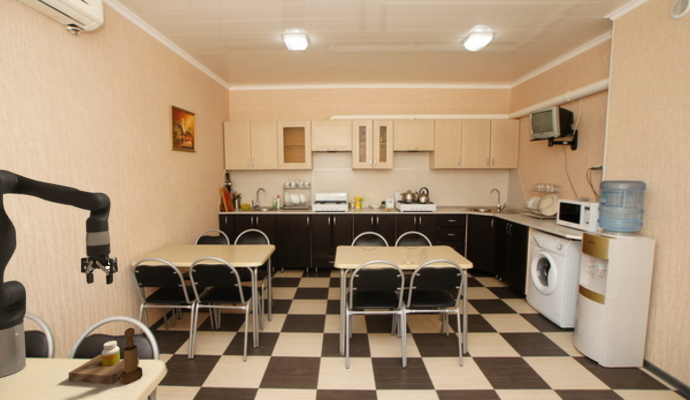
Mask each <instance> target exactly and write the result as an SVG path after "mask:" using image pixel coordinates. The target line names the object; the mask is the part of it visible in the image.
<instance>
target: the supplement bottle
mask: <svg viewBox="0 0 690 400" xmlns="http://www.w3.org/2000/svg"><path fill="white" fill-rule="evenodd" d="M120 354H121V351H120V347H119V346H118V342H117V340H111V341H110V340H109V341H107V342H105V343H104V344H103V350H102V351H101V355H102V366H106V367H112V366H113V365H115V364H116V363H118V362H119V361H121V355H120Z"/></svg>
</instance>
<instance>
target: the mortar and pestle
mask: <svg viewBox="0 0 690 400" xmlns="http://www.w3.org/2000/svg"><path fill="white" fill-rule="evenodd" d="M135 331H136V330H135V329H134V328H133V327H129V328H126V329H125V330H124V336H125V338H127V339H126V341H125V344H126V347H124V348H123V359H124V371H123V372H122V373H121V374H120V379H119V382H120V384H124V385H128V384H131V383H134V382H137V381H139V380H140V379H141V378H143V376H144V375H143V368H142V367H140V366H139V365H138V364H137V357H138V346H137V345H136V344H134V343H135V340H134V339H133V337H134V336H135V333H136V332H135Z"/></svg>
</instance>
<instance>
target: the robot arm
mask: <svg viewBox="0 0 690 400" xmlns="http://www.w3.org/2000/svg"><path fill="white" fill-rule="evenodd" d="M6 194H10V195H25V196H30V197H35V198H39V199H41V200H43V201H46V202H47V201H48V202H50V203H54V204H60V205H65V206H70V207H71V206H72V207H74V208H78V209H81V210H85V211H89V212H90V213H89V216H88V218H86V220H85V233H86V234H85V253H86V256H85V257H81V258H80V273H81V274H85V275H86V276H85V277H86V279H85V280H86V283H87V285H90V284H94V282H95V280H94V279H95V278H94V277H95V275H94V272H95V270H101V271H102V272H104V273H105V284H106V285H111V284H113V282H114V274H115V273H116V274H117V273H119V268H118V258H117V257H116V256H114V257H110V254H111V237H110V231H109V230H110V228H109V217H110V211H111V206H112V205H111V203H112V202H111V199H110V197H109V196H108V194H106V193H105V192H90V191H85V190H80V189H79V188H76V187H72V186H66V185H63V184H62V185H61V184H57V183H52V182H46V181H42V180H41V181H40V180H36V179H33V178H29V177H27V176H24V175H20V174H18V173H16V172H12V171H10V170H6V169H0V378H2V377H7V376H10V375H13V374H15V373H18V372H20V371H21V370H23V369H24V367H25V368H26V366H27V360H26V359H27V358H26V342H25V341H26V340H25V321H24V317H25V316H26V313H27V291H26V287H25V286H24V284H23V283H22V282H21V281H19V280H9V281H4V280H5V279H4V278H5V270H6V268H7V266H8V264H9V262H11V259H12V257H13V256H14V253H15V251H16V250H17V231H16V230H17V229H16V227H15V225H14V223H13V221H12V219H11V218H10V217H9V215H8V214H7V212H6V209H5V205H4V195H6Z"/></svg>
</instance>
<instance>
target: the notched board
mask: <svg viewBox="0 0 690 400" xmlns="http://www.w3.org/2000/svg"><path fill="white" fill-rule="evenodd" d="M137 364H139V365H140V357H139V356H137ZM123 371H124V358H122V359H120V361H119V362H118V363H116V364H115V365H113V366H112V367H106V366H102V354H99V355H96V356H94V357H93V358H92V359H89V360H88V361H86V362H85V363H83V364H81V365H79V366H78V367H76V368H74V369H73V370H70V371H69V372H68V382H74V383H76V382H77V383H87V384H88V383H89V384H102V385H113V384H114V383H116V382H117V381H120V374H121V373H122V372H123Z"/></svg>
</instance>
